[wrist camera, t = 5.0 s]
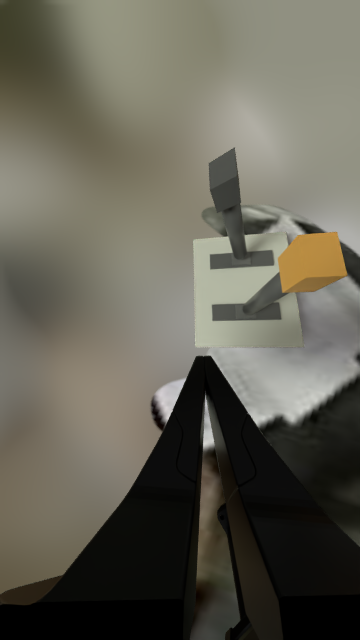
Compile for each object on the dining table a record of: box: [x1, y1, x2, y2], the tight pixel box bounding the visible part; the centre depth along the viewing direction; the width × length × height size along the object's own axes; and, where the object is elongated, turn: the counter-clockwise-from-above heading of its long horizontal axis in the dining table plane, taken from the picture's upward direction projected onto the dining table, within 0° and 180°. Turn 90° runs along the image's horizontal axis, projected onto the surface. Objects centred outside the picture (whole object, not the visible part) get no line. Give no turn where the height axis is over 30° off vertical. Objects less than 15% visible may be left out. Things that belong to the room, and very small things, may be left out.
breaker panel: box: [193, 148, 304, 347], centre depth 15 cm, size 16×13×14 cm
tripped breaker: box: [242, 232, 347, 315], centre depth 13 cm, size 2×2×11 cm
